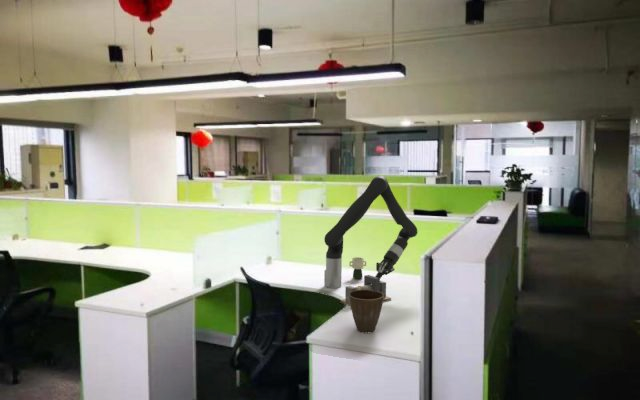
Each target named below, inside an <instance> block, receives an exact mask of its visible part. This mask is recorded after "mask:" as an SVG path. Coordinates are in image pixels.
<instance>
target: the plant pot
mask: <svg viewBox="0 0 640 400" xmlns="http://www.w3.org/2000/svg"><path fill="white" fill-rule="evenodd" d="M349 297H350V304H351V306H350V310H351V313H352V318H353V322H354V324H355V327H356V329H357V332H359V331H360V333H362V332H367V333H366V334H369V333H368V332H372V333H374V332H375V330H376V327H377V324H378V322H379V319H380V315H381V312H382V307H383V303H384V302H383V297H384V295H383V294H382V293H380V292H378V291H372V290H357V291H353V292H351V293H349Z"/></svg>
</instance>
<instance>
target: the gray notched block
mask: <svg viewBox="0 0 640 400" xmlns="http://www.w3.org/2000/svg"><path fill="white" fill-rule="evenodd" d="M363 280H364V281H363V286H365V285H370V284H373V290H372V291H378V292H380V281H381V279H380V278H377V277H375V276H373V275H370V274H367V275H366V274H365V275H364V277H363Z"/></svg>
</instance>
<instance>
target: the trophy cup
mask: <svg viewBox="0 0 640 400" xmlns="http://www.w3.org/2000/svg"><path fill="white" fill-rule="evenodd" d="M366 266H367V261H366V260H365V259H364V257H359V256H358V257H357V256H355V257H352V261H351V260H350V261H349V267H352V268H353V273H352V278H353V279H355V280H360V279H364V277H363V269H364V267H366Z"/></svg>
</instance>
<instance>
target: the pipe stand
mask: <svg viewBox="0 0 640 400" xmlns="http://www.w3.org/2000/svg"><path fill="white" fill-rule="evenodd" d="M357 290H373V284H370V285H365V286H364V285H358V286H356V287H354V286H351V285H348V286H345V293H344V294H345V298H344V299H340V303H341V304H343V305H347V306H349V307H351V304H350V297H349V293H351V292H353V291H357ZM380 293H382V294H383V295H384V297H383V303H385V302H388V301H392V297H390V296H387V294H386V293H387V282H386V281H382V280H380Z"/></svg>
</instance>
